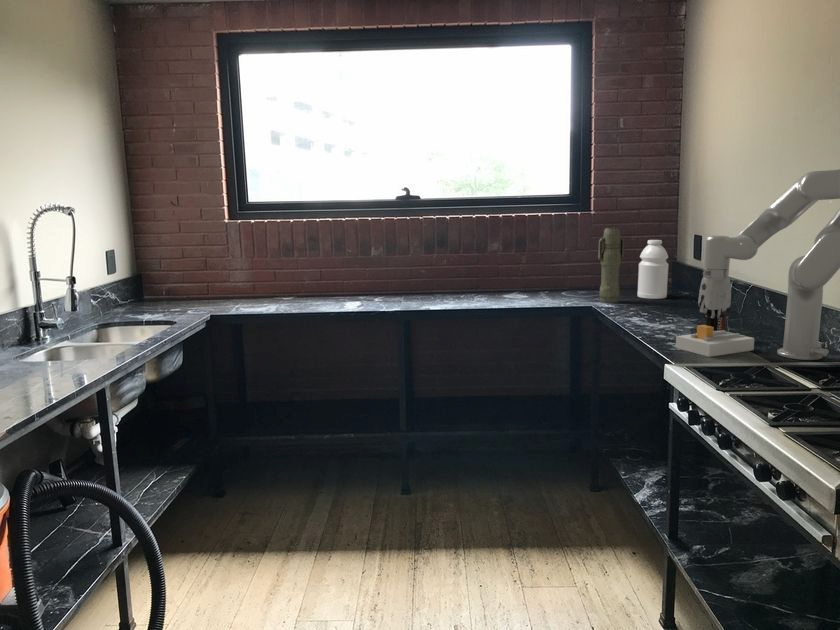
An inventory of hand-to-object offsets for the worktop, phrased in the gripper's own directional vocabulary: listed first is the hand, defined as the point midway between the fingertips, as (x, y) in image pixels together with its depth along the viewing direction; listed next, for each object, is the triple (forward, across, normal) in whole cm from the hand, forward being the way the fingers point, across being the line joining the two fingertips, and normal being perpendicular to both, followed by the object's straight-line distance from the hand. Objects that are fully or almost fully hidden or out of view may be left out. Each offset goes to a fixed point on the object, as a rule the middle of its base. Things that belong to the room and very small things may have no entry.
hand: (711, 329), depth 223 cm
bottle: (+7, +63, +95) cm, 114 cm away
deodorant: (+7, +17, +14) cm, 23 cm away
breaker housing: (+7, +2, 0) cm, 7 cm away
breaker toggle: (+3, -3, 0) cm, 4 cm away
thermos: (+7, +35, +93) cm, 100 cm away
